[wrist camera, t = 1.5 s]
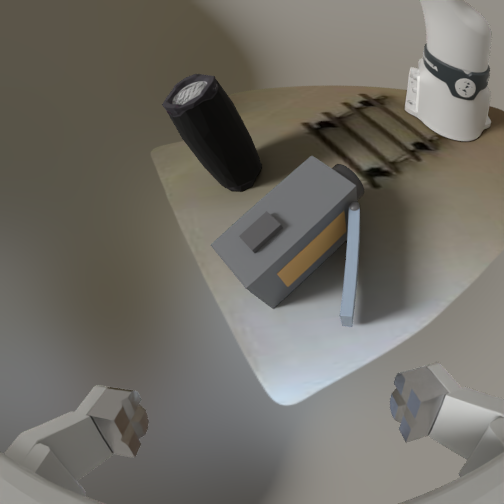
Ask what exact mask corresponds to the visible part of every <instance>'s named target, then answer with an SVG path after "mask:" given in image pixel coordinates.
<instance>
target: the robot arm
mask: <svg viewBox="0 0 504 504" xmlns="http://www.w3.org/2000/svg"><path fill="white" fill-rule="evenodd" d="M419 1H420V3H421V5H422V8H423V12H424V17H425V24H426V36H427V43H426V44H425V48H424V51H423V58H421V59H420V60H419V63H418V65H419V67H418V68H413V67H411V68H410V73H409V79H408V87H407V95H406V102H405V110H406V111H407V112H408V113H410V114H412V115H414V116H416V117H418V118H419V119H420V120H421V121H422V122H423V123H424V124H425V125H426V126H428V127H429V128H430V129H432V130H433V131H435V132H436V133H438V134H440V135H442V136H444V137H447V138H450V139H453V140H458V141H471V140H474V139H476V138H478V137H479V136H480V135H481V133H482V131H483V130H484V129H486V128H489V127H490V125H491V120H490V118H489V117H488V111H489V105H490V98H491V91H490V90H489V88H488V87H487V84H488V81H489V76H490V74H489V71H490V68H489V65H488V63H489V56H490V48H491V47H490V46H491V37H492V33H491V29H490V26H489V24H488V22H487V20H486V19H485V18H484V17H483V15H482V14H480V13H479V12H478V11H477V10H476V9H475V8H473V7H472V6H471V5H470V4H468V3H467V2H465V1H464V0H419ZM394 385H395V386H396V389H395V390H394V392H393V393H392V394H391V398H390V410H391V414H392V416H393V418H394V420H396V421H398V422H400V423H401V424H400V427H399V430H400V432H401V434H402V436H403V438H404V440H405V442H406V443H407V442H410V441H413V440H416V439H420V438H422V437H426V436H429V437H430V438H432V439H433V440H435V441H437V442H438V443H440V444H442V445H443V446H445V447H446V448H448V449H450V450H451V451H453V452H455V453H456V454H458V455H460V456H462V457H463V458H465V459H467V461H466V463H465V464H464V466H463V467H462V469H461V470H460V472H459V476H460V478H458V479H456V480H454V481H452V482H450V483H448V484H446V485H444V486H441V487H439V488H437V489H435V490H432V491H430V492H428V493H426V494H423V495H420V496H418V497H415V498H413V499H410V500H407V501H405V502H402V503H398V504H504V399H503V398H499V397H496V396H493V395H490V394H487V393H484V392H480V391H477V390H474V389H471V388H468V387H464V388H462V387H461V386H460V385H459V384H458V383H457V381H456V380H455V379H454V378H453V377H452V376H451V375H450V374H449V372H448V371H447V370H446V369H445V368H444V367H443V366H442V365H441V364H440V363H438V362H435V363H432V364H428V365H425V366H424V367H420V368H416V369H412V370H408V371H405V372H401V373H398V374H397V375H396V377H395V381H394ZM140 401H141V398H140V395H139V394H138V392H137V391H135V390H128V389H121V388H114V387H107V386H102V385H97V386H94V388H93V389H92V390H91V392H90V393H89V394H88V395H87V397H86V398H85V399H84V401H83V402H82V403H81V405H80V406H79V407H78V408H77V410H76V411H75V412H69V413H66V414H64V415H62V416H60V417H58V418H55V419H53V420H51V421H48V422H46V423H44V424H41V425H39V426H37V427H34V428H32V429H29V430H27V431H25V432H22V433H21V434H20V435H19V436H18V437H17V438H16V440H15V441H14V442H13V443H12V444H11V446H10V447H9V448H8V449H7V451H6V452H5V453H4V454H2V453H1V452H0V504H105V503H102V502H99V501H96V500H93V499H91V498H88V497H85V494H86V492H85V490H84V489H83V488H82V486H81V485H80V484H79V483H78V482H77V481H78V480H79V479H80V478H82V477H83V476H85V475H86V474H88V473H89V472H90V471H92V470H93V469H94V468H96V467H97V466H99V465H100V464H101V463H103V462H104V461H106V460H107V459H108V458H109V457H111V456H112V455H113V454H118V455H122V456H127V457H134V458H135V457H136V455H137V452H138V450H139V448H140V446H141V442H140V440H139V439H140V438H141V437H143V436H144V435H145V434H146V432H147V430H148V423H149V420H148V415H147V413H146V410H145V409H144V408H143V407H142V406H141V405H140Z"/></svg>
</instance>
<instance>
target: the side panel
mask: <svg viewBox="0 0 504 504" xmlns="http://www.w3.org/2000/svg"><path fill="white" fill-rule="evenodd" d="M359 245H360V205H359V203H358V202H356V201H352V202H350V204H349V218H348V237H347V251H346V264H345V275H344V285H343V294H342V303H341V311H340V318H341V322H342V326H350V327H352V324H353V316H354V308H355V298H356V288H357V276H358V263H359Z"/></svg>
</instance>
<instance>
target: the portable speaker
mask: <svg viewBox="0 0 504 504" xmlns="http://www.w3.org/2000/svg"><path fill="white" fill-rule="evenodd" d="M162 105H163V107H164V108H165V109H166V110H167V113H168V114H169V116H170V118H171V119H172V121H173V123H174V125H175V126H176V128H177V130H178V132H179V133H180V135H181V137H182V139H183V140H184V141H185V143H186V144H187V145H188V147H189V148H190V149H191V150H192V152H193V153H194V154H195V156H196V157H197V158H198V160H199V161H200V162H201V164H202V165H203V166H204V167H205V168H206V169H207V170H208V171H209V173H210V174H211V175H212V176H213V177H214V178H215V179H216V180H217V181H218V182H219V183H220V184H221V185H222V186H224V187H225V188H227V189H229V190H231V191H240V192H241V191H243V190H245V189H248V188H250V187H252V186H253V183H254V180H255V179H256V177H257V175H258V173H259V172H260V169H261V168H262V164H261V162H260V158H259V156H258V153H257V151H256V148H255V146H254V143H253V141H252V138H251V136H250V134H249V132H248V131H247V129H246V127H245V125H244V123H243V121H242V119H241V117H240V115H239V113H238V112H237V110H236V108H235V106H234V104H233V102H232V101H231V100H230V98H229V97H228V95H227V94H226V92H225V91H224V90H223V88H222V87H221V86H220V84H219V83H218V81H217V80H216V79H215V76H208V75H201V74H194V75H192V76H189V77H186V78H185V79H183V80H182V81H180V82H179V83H177V84H176V85H175V86H174V88H173V90H172V91H171V92H170V94H169V95H168V96H167V98H166V100H165V101H164V103H163V104H162Z"/></svg>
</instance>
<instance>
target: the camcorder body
mask: <svg viewBox="0 0 504 504" xmlns="http://www.w3.org/2000/svg"><path fill="white" fill-rule="evenodd" d="M363 194H364V188H363V185H362V183H361V181H360V180H359V178H358V177H357V176H356V175H355V173H354V172H352V171H351V170H350V169H349V168H347V167H346V166H344V165H341V164H337V165H335V166H334V167H333V168H330V167H329V166H327V165H326V164H324V163H323V162H321V161H320V160H318V159H316V158H315V157H313V156H310V157H309V158H308V159H307V160H306V161H305V162H303V163H302V164H301V165H300V166H299V167H298V168H296V169H295V170H294V171H293V172H292V173H291V174H289V175H288V176H287V177H286V178H285V179H284V180H282V181H281V182H280V183H279V184H278V185H277V186H276V187H274V188H273V189H272V190H271V191H270V192H269V193H268V194H266V195H265V196H264V197H263V198H262V199H261V200H260V201H259V202H257V203H256V204H255V205H254V206H253V207H252V208H251V209H250V210H248V211H247V212H246V213H245V214H244V215H243V216H242V217H241V218H239V219H238V220H237V221H236V222H235V223H234V224H233V225H232V226H231V227H230V228H228V229H227V230H226V231H225V232H224V233H223V234H222V235H221V236H220V237H219V238H217V239H216V240H215V241H214V242H213V243H212V244H211V246H212V248H213V249H214V250H215V251H216V253H217V254H218V255H219V256H220V257H221V259H222V260H223V261H224V262H225V264H226V265H227V266H228V267H229V268H230V270H231V271H232V272H233V273H234V275H235V276H236V277H237V278H238V279H239V281H240V282H241V283H242V284H243V285H244V287H245V288H246V289H247V290H249V291H250V292H251V293H253V294H254V295H255V296H257V297H258V298H259V299H261V300H262V301H263V302H265V303H266V304H267V305H269V306H270V307H271V308H274V307H275V306H277V305H278V304H279V303H280V302H281V301H282V300H283V299H284V298H285V297H287V296H288V295H289V294H290V293H291V292H292V291H293V290H294V289H295V288H296V287H297V286H299V285H300V284H301V283H302V282H303V281H304V280H305V279H306V278H307V277H308V276H309V275H310V274H311V273H312V272H314V271H315V270H316V269H317V268H318V267H319V266H320V265H321V264H322V263H323V262H324V261H325V260H326V259H327V258H328V257H329V256H330V255H331V254H332V253H333V252H334V251H335V250H336V249H337V248H338V247H339V246H340V245H341V244H343V243H344V242H345V241H346V240H347V237H348V218H349V204H350V202H352V201H356V202H357V200H358V199H359V198H360V197H361V196H362V195H363Z"/></svg>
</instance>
